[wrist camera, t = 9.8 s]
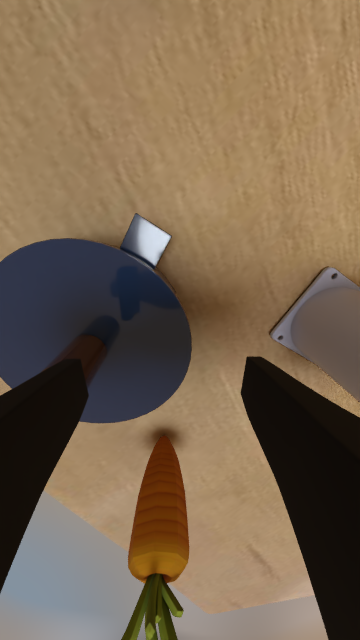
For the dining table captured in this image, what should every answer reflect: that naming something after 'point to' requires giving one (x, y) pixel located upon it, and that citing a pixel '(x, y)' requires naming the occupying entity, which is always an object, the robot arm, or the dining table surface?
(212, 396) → the dining table surface
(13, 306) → the lid
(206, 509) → the dining table surface
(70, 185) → the dining table surface
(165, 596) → the carrot
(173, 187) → the dining table surface
